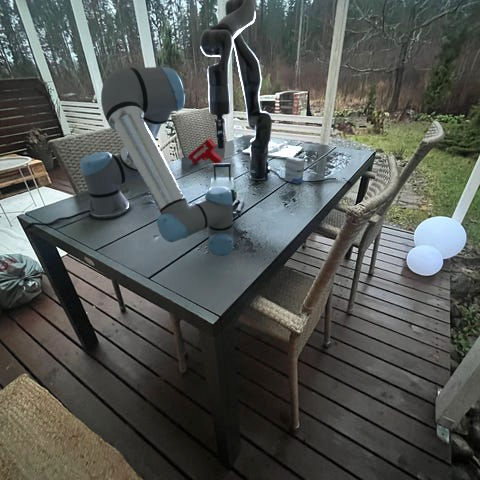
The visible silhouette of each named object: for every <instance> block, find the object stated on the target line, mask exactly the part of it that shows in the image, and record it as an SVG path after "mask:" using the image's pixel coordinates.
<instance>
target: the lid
mask: <svg viewBox="0 0 480 480" xmlns="http://www.w3.org/2000/svg"><path fill="white" fill-rule="evenodd" d="M212 168H213V177H211V179H210V180H211V182H210V187H209V188H212V187H225V188H228V189H229V190H230V191H231V192H235V180H234V179H235V178H234V177H232V173H231V171H232V169H231V168H232V164H231V163H220V164H215V163H213V164H212ZM216 168H228V176H227V177H217V172H216V170H217V169H216Z"/></svg>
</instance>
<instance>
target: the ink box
mask: <svg viewBox="0 0 480 480" xmlns="http://www.w3.org/2000/svg"><path fill="white" fill-rule="evenodd" d="M305 162H306V159H304V158H299V157H296V156H294V157H289V158H287V159H286V158H285V169H284V178H285V180H284V181H285V182H289V183H293V184H295V185H298V184H300V183H303V182H302V180H304V173H305V171H304V170H305Z"/></svg>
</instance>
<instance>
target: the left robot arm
mask: <svg viewBox="0 0 480 480" xmlns="http://www.w3.org/2000/svg"><path fill="white" fill-rule="evenodd" d="M101 87H102V88H101V91H100V92H101V93H100V103H101V105H100V106H101V108H102V112H103V115H104V118H105V120H106V123H107V124H108V126H109V127H110V129H112V130H113V131H116V132H117V134H118V136H119V138H120V140H121V142H122V143H123V146H122V147H121V149H120V152H119V153H115V154H111V153H110V152H108V151H101V152H94V153H91V154H89V155H88V154H87V155H86V156H85V157H83V158H82V159H81V160H80V162H79V167H80V171H81V175H82V177H83V180H84V182H85V185H86V189H87V192H88V195H89V209H87V210H84V211H81V212H77V213H76V214H73V215H70V216H63V217H59V218H56V219H54V220H53V221H51V222H45V223H44V222H31V223H29V224H28V225H26V227H25V228H26V229H29V228H31V227H33V226H43V227H46V226H47V227H48V226H52V225H55V224H56V223H58V222H60V221H64V220H66V221H67V220H71V219H73V218H76V217H79V216H82V215H84V214H87V213H90V217H92V218H94V219H97V220H109V219H116V218H118V217H121V216H124V215H125V214H126V213H128V212H129V211H130V204H129V200H128V199H127V198H126V197H125V196H124V194H123V193H122V191H121V188H120V185H123V184H126V183H130V182H134V181H139V180H142V181H143V183H144V184H145V186H146V188H147V190H148V192H149V193H150V196H151V197H152V199H153V201H154V203H155V205H156V207H157V209H158V210H159V213H160V214H161V215H159V216H158V217H157V219H156V226H157V228H158V231H159V234H160V235H161V237H162V238H163V239H164V240H165V241H166V242H168V243H175V242H177V241H180V240H183V239H187V238H189V237H190V236H192V235H194V234H196V233H198V232H200V231H201V232H202V231H203V230H206V229H208V239H207V243H208V246H207V247H208V249H209V251H210V253H212V254H213V255H215V256H217V257H218V256H219V257H222V256H227V255H229V254H230V253H232V251H233V249H234V245H235V239H234V217H235V216H237V217H238V218H242V213H243V210H244V207H245V199H240V197H239V196H237V192H236V191H234V202H233V200H232V193H231V191H230V190H229V189H228V188H225V187H212V188H210V187H208V189H207V190H206V191H205V192H204V193H205V196H204V199H203V200H200V201H196V202H194V203H190V204H189V201H188V200H187V198H186V197H185V195H184V193H183V191H182V189H181V188H180V185H179V184H178V182H177V180H176V178H175V176H174V174H173V172H172V171H171V169H170V167H169V165H168V163H167V161H166V158H165V157H164V155H163V154H162V152H161V150H160V148H159V147H158V144H157V142H156V139H157V136H158V134H159V132H160V130H161V126H162V125H164V124H166V123H167V122H168V121H169V120H170V118H171V115H172V114H173V113H174V112H179V111H181V110H183V108H184V106H185V103H186V102H185V99H186V97H185V90H184V85H183V81H182V80H181V78H180V76H179V74H178V73H177V71H175V70H174V69H173V68H170V67H165V66H164V67H163V66H151V67H150V66H147V67H119V68H116V69H115V70H113V71H112V72H110V74H108V75H107V77H106V78H105V79H104V81H103V84H102V86H101ZM234 210H235V212H233V211H234Z"/></svg>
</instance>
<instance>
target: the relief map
mask: <svg viewBox="0 0 480 480" xmlns="http://www.w3.org/2000/svg"><path fill="white" fill-rule="evenodd" d="M302 147H303V146H294V145H292V144H290V143H289V142H288V141H284V142H282V143H280V144H279V143H278V142H276V141H273V140H272V139H271V138H270V141H269V145H268V157H271V158H277V159H285V160H286V159H287V158H289V157H296V156H297V155H298V154H299V153H300V152H302V151H303V150H304V148H303V149H302ZM250 148H251V145H250V146H249V147H248V148H247V149H245V150H242V153H243V154H247V155H248V154H249V155H250ZM296 153H297V154H296Z"/></svg>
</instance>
